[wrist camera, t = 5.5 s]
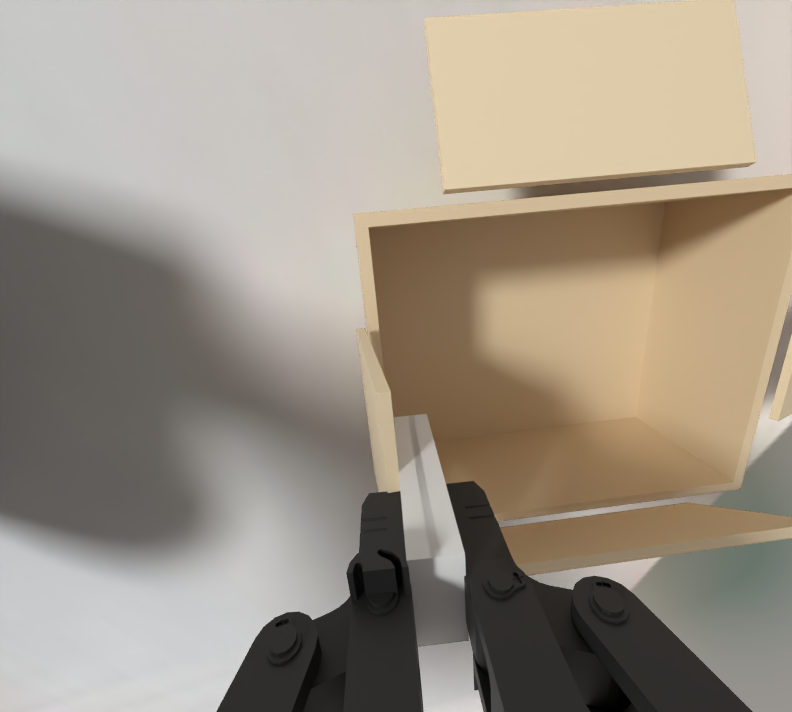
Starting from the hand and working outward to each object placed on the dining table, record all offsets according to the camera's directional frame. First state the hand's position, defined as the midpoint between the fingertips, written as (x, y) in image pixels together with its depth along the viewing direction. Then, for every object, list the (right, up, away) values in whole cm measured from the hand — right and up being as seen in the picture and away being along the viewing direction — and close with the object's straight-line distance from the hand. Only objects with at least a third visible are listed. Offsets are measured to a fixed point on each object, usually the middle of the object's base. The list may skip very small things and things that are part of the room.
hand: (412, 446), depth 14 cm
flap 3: (+10, -5, +4) cm, 12 cm away
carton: (+8, +5, +13) cm, 17 cm away
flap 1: (-1, 0, 0) cm, 1 cm away
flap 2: (+8, +15, +1) cm, 17 cm away
